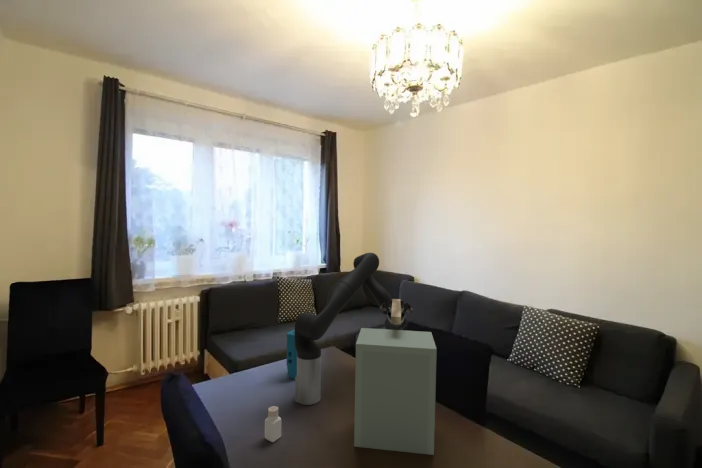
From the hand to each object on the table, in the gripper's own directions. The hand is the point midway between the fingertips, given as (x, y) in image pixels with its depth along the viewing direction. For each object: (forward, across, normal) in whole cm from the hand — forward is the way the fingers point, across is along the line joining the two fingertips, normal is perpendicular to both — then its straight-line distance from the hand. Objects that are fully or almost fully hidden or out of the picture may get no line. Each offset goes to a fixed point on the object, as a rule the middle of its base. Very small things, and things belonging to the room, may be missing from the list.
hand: (396, 302), depth 132 cm
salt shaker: (+6, -38, +48) cm, 62 cm away
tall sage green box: (-1, 0, +44) cm, 44 cm away
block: (-33, -43, +26) cm, 60 cm away
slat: (+4, 0, +6) cm, 7 cm away
